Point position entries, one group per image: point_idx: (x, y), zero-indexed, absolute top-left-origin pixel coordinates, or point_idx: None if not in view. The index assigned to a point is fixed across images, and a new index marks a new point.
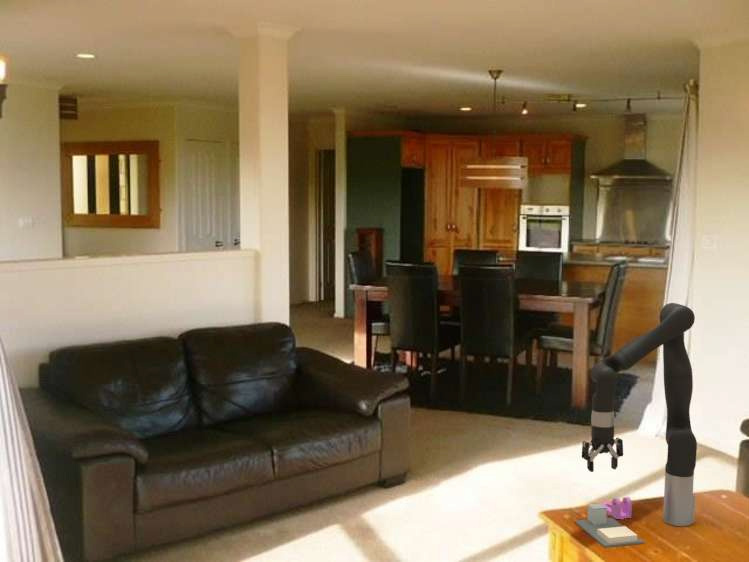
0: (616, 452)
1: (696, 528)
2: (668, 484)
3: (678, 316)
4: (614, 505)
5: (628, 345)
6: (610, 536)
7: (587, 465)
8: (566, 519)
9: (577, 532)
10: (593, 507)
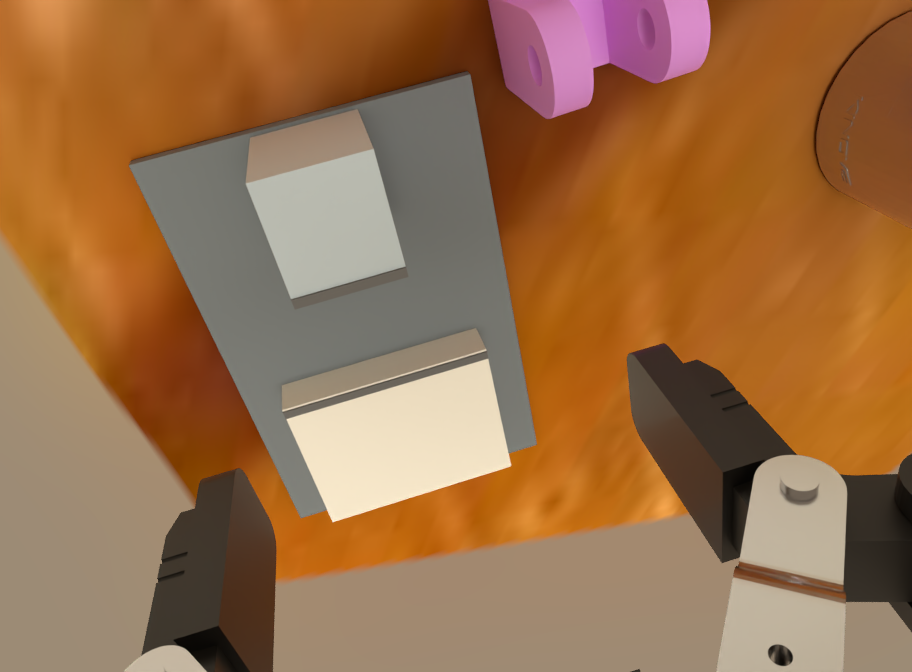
0: (900, 543)
1: None
2: None
3: None
4: (531, 51)
5: None
6: (345, 506)
7: (162, 581)
8: (55, 90)
9: (149, 341)
10: (288, 261)
